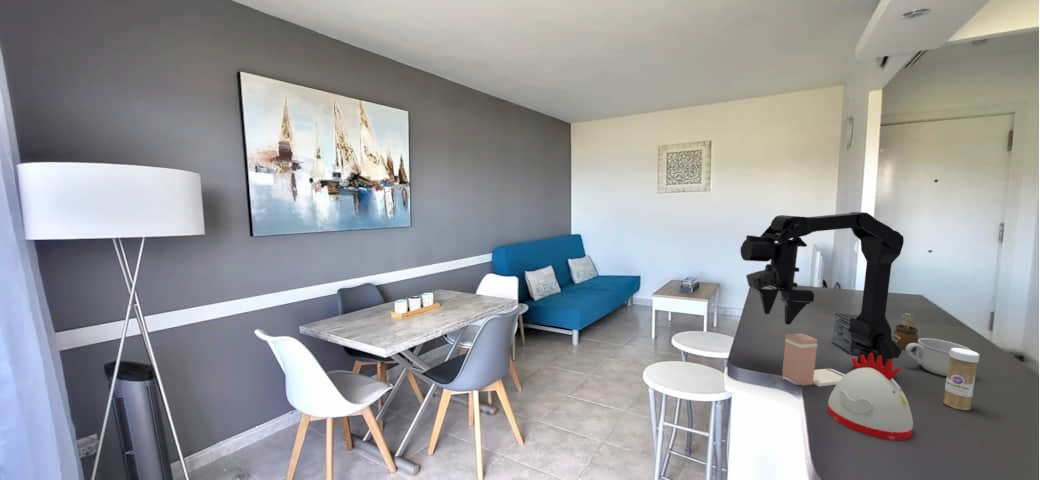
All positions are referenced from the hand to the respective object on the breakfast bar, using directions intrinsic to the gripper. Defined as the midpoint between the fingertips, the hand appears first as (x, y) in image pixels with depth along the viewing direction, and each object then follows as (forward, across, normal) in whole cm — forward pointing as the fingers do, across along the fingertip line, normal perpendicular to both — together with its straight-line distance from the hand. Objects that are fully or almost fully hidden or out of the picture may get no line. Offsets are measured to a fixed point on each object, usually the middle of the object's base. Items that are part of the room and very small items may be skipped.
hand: (776, 318), depth 110 cm
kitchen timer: (+15, +24, +6) cm, 29 cm away
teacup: (+14, -3, +47) cm, 49 cm away
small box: (+14, -18, +36) cm, 43 cm away
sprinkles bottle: (+14, +17, +33) cm, 40 cm away
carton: (+15, +6, +3) cm, 16 cm away
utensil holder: (+14, -21, +55) cm, 61 cm away
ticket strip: (+14, +4, +12) cm, 19 cm away
